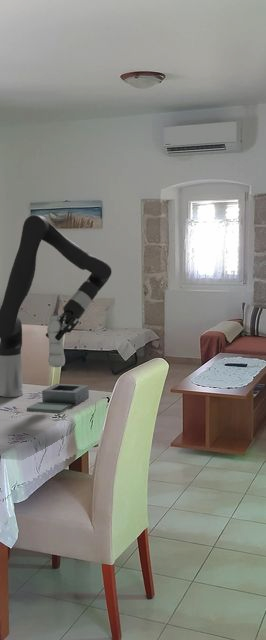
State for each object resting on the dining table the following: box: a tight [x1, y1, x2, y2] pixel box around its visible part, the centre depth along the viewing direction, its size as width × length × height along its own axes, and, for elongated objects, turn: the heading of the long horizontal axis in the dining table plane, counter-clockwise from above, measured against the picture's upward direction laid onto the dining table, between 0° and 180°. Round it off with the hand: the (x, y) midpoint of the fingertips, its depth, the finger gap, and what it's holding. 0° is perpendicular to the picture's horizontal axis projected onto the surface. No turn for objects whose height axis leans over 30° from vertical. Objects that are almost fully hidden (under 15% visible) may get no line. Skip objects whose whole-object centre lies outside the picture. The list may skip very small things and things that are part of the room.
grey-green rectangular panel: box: [26, 401, 72, 414], centre depth 244 cm, size 14×9×1 cm, turn 71°
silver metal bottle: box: [46, 314, 66, 368], centre depth 247 cm, size 6×7×20 cm
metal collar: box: [41, 383, 90, 406], centre depth 256 cm, size 14×13×5 cm
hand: (52, 338), depth 246 cm, fingers closed on silver metal bottle, 6 cm apart
